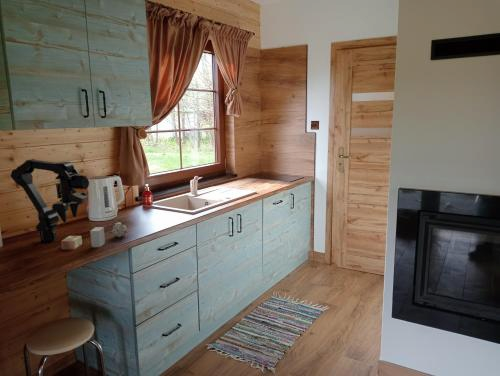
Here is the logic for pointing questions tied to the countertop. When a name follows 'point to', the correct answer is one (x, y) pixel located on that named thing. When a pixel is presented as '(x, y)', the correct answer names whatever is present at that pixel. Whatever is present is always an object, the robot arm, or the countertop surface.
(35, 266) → the countertop surface
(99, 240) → the grey block
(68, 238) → the birch block
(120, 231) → the grey knobbly lump
